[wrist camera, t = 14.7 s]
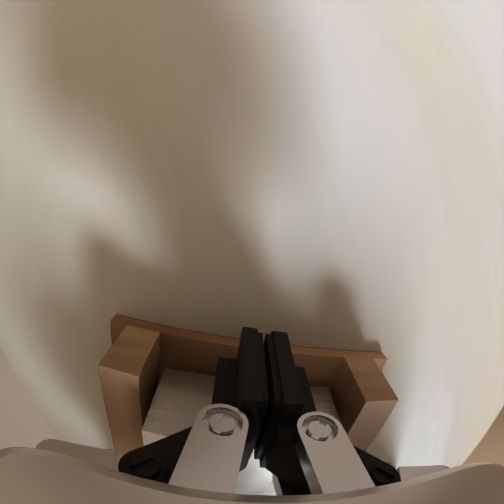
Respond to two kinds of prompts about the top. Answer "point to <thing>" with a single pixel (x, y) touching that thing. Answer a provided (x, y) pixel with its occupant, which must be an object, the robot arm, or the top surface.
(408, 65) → the top surface
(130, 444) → the holder
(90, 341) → the top surface
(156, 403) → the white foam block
